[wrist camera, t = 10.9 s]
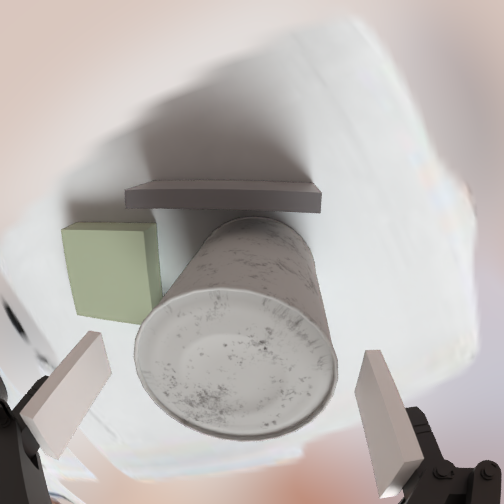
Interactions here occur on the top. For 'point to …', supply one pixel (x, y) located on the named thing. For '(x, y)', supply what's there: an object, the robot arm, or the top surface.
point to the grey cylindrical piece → (241, 337)
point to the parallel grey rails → (226, 195)
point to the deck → (113, 269)
